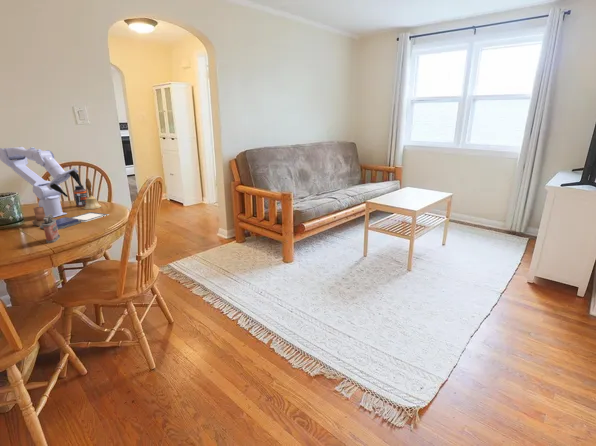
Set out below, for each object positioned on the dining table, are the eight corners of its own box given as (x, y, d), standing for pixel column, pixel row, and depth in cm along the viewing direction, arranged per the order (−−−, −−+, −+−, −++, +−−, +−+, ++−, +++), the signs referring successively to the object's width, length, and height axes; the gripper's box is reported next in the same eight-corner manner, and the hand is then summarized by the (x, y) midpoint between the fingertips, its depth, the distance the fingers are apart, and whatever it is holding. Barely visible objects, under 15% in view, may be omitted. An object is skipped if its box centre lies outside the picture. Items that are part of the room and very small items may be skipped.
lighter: (54, 242, 132) (48, 218, 129) (44, 243, 131) (38, 219, 128) (61, 236, 139) (56, 212, 136) (52, 236, 138) (46, 213, 135)
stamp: (33, 225, 154) (28, 208, 151) (44, 222, 158) (40, 206, 156) (40, 226, 152) (36, 209, 150) (51, 223, 156) (47, 206, 154)
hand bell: (91, 205, 188) (85, 177, 184) (104, 205, 187) (99, 177, 182) (80, 209, 181) (73, 179, 176) (93, 209, 179) (88, 180, 174)
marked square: (66, 219, 163) (66, 218, 163) (91, 212, 174) (90, 211, 174) (85, 222, 158) (84, 221, 158) (109, 214, 169) (109, 214, 169)
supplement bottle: (83, 207, 185) (79, 187, 181) (74, 206, 186) (69, 186, 182) (91, 204, 190) (87, 184, 187) (82, 204, 191) (78, 184, 188)
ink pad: (40, 228, 150) (39, 223, 149) (66, 220, 160) (65, 216, 160) (55, 230, 146) (54, 226, 146) (81, 222, 157) (80, 218, 156)
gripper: (36, 176, 153) (55, 197, 152) (65, 157, 157) (83, 178, 156) (45, 182, 159) (62, 202, 158) (72, 164, 164) (90, 184, 163)
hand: (73, 191), depth 158 cm, fingers open, 7 cm apart
